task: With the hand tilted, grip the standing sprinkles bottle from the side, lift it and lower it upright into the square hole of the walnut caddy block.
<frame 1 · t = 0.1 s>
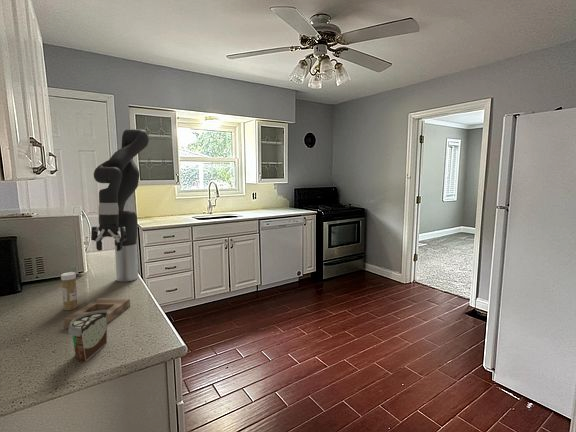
hand: (109, 250, 134), 17 cm above the worktop, tool pointing down, fingers open, 8 cm apart
walnut caddy: (100, 316, 110), on the worktop
food container: (86, 352, 88), on the worktop
sprinkles bottle: (70, 308, 116), on the worktop
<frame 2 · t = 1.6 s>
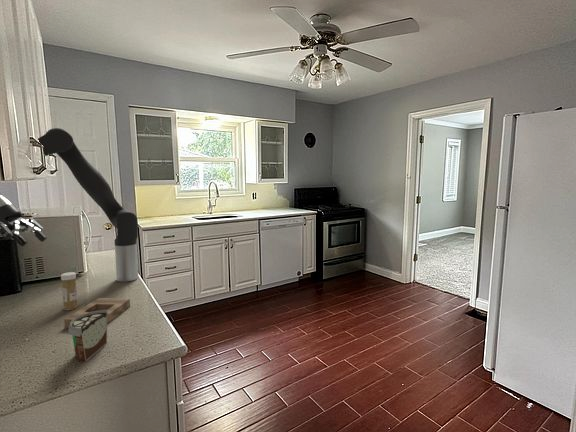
hand: (35, 242, 113), 25 cm above the worktop, tool tilted 45°, fingers open, 8 cm apart
nothing on the worktop moved.
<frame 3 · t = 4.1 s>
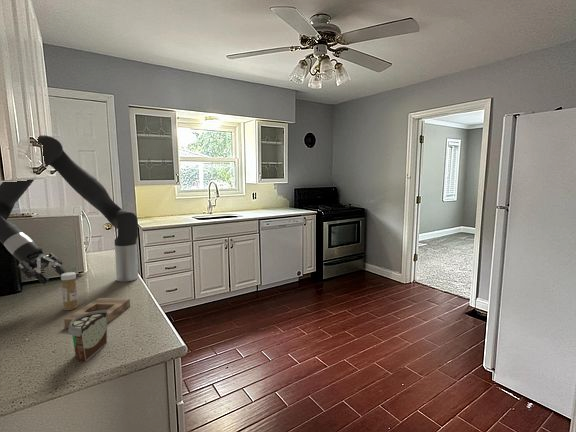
hand: (56, 278, 115), 11 cm above the worktop, tool tilted 45°, fingers open, 8 cm apart
nothing on the worktop moved.
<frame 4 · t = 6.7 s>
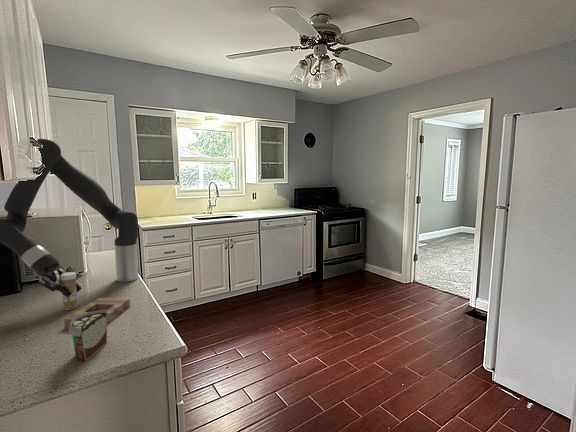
hand: (74, 292, 115), 6 cm above the worktop, tool tilted 45°, fingers closed on sprinkles bottle, 4 cm apart
sprinkles bottle: (70, 308, 116), on the worktop, touching gripper
everything else where it was.
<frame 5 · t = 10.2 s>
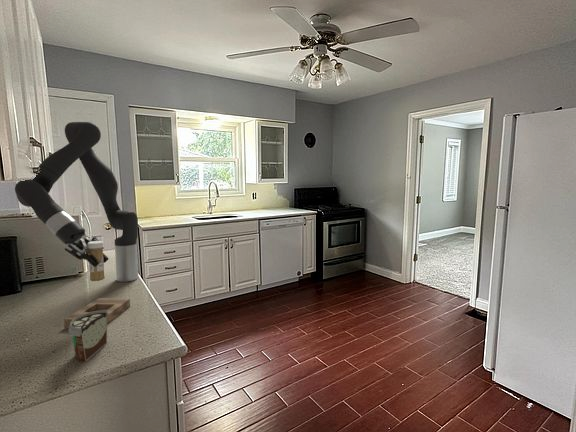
hand: (101, 262, 107), 20 cm above the worktop, tool tilted 45°, fingers closed on sprinkles bottle, 4 cm apart
sprinkles bottle: (97, 280, 108), point 13 cm above the worktop, touching gripper
everything else where it was.
when the fingers open (7 cm above the worktop, at t = 13.7 s): sprinkles bottle drops 1 cm, resting in walnut caddy.
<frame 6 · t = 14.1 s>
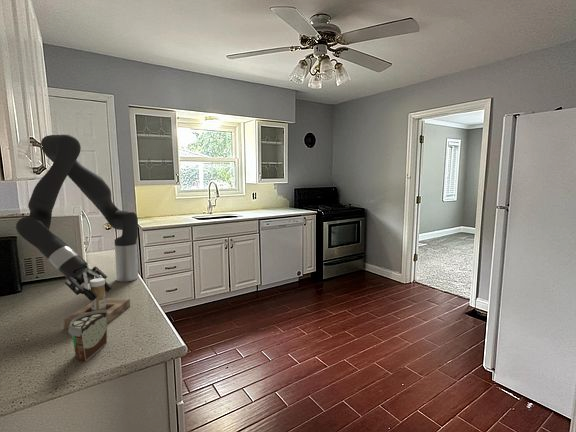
hand: (102, 294, 109), 8 cm above the worktop, tool tilted 45°, fingers open, 8 cm apart
sprinkles bottle: (99, 316, 110), resting in walnut caddy
everything else where it was.
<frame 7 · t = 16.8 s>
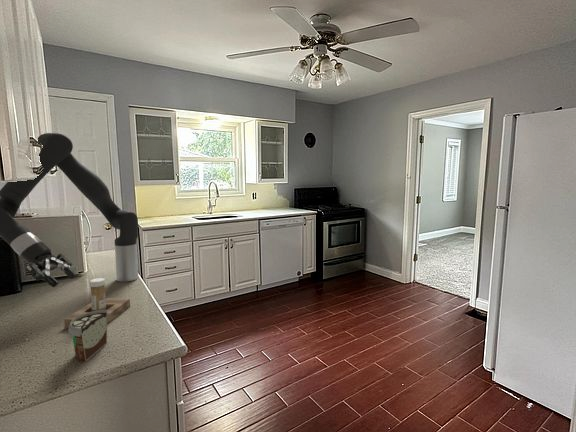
hand: (65, 281, 109), 13 cm above the worktop, tool tilted 45°, fingers open, 8 cm apart
nothing on the worktop moved.
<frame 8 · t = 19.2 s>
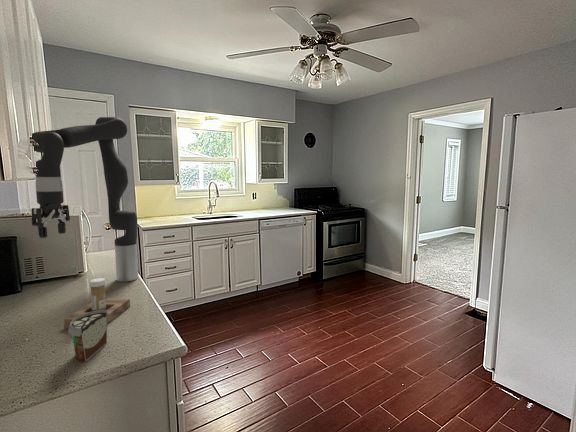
hand: (53, 235, 111), 28 cm above the worktop, tool pointing down, fingers open, 8 cm apart
nothing on the worktop moved.
at the end: sprinkles bottle 0.2 cm off-centre on the walnut caddy, point 0.0 cm above the walnut caddy's base; sprinkles bottle tilted 0°; the gripper is holding nothing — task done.
